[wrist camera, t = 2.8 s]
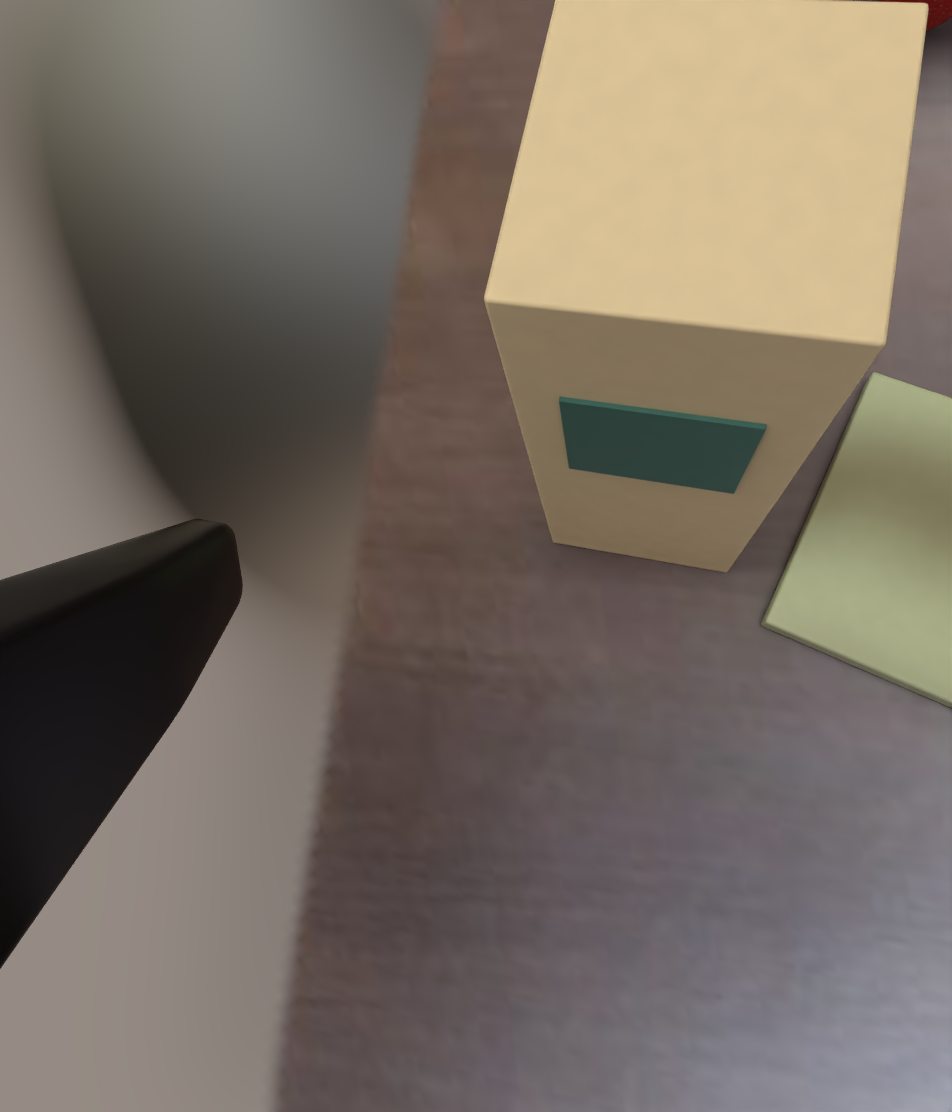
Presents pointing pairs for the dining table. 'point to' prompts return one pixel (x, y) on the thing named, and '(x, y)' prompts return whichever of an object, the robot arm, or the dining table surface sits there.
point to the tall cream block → (699, 256)
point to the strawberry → (933, 10)
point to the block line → (880, 545)
